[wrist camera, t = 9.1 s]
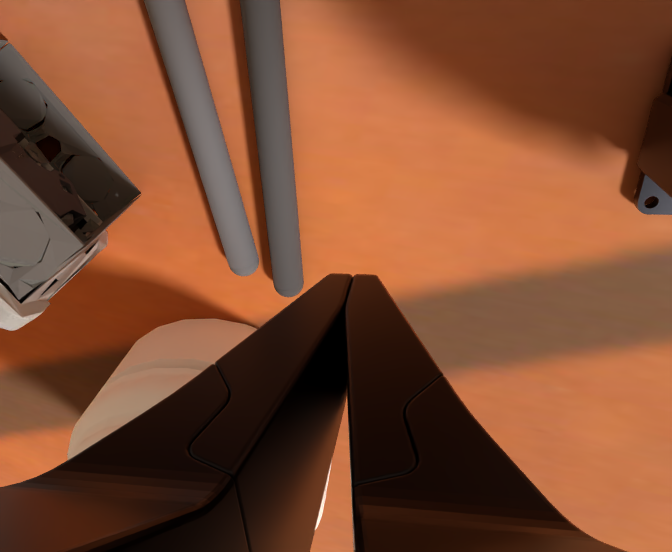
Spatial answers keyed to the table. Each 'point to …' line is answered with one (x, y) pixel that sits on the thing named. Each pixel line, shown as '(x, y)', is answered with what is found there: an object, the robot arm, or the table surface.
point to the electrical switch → (48, 194)
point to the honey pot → (157, 375)
